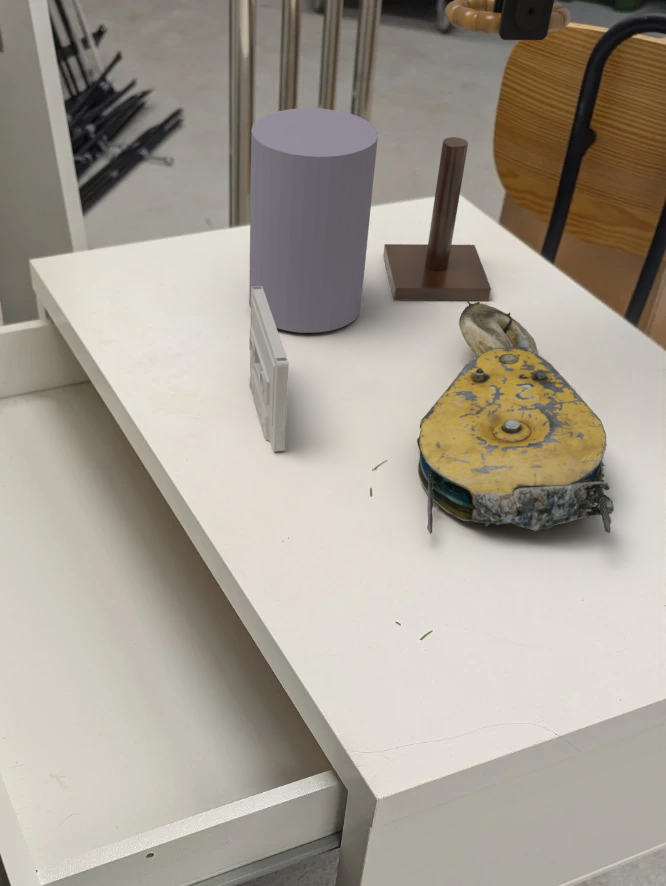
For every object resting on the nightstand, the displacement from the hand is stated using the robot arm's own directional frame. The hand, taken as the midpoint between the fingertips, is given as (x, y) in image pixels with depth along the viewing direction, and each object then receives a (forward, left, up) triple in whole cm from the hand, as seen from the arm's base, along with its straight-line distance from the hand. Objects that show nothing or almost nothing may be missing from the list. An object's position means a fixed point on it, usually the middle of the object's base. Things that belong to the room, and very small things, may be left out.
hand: (518, 30), depth 69 cm
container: (+12, -11, -25) cm, 30 cm away
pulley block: (-2, +10, -25) cm, 27 cm away
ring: (0, -3, 0) cm, 3 cm away
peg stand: (-1, -17, -25) cm, 30 cm away
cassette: (+17, +6, -25) cm, 31 cm away
